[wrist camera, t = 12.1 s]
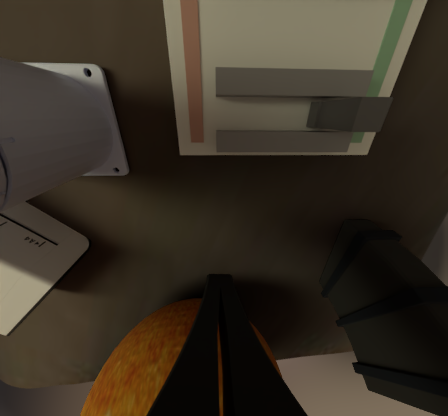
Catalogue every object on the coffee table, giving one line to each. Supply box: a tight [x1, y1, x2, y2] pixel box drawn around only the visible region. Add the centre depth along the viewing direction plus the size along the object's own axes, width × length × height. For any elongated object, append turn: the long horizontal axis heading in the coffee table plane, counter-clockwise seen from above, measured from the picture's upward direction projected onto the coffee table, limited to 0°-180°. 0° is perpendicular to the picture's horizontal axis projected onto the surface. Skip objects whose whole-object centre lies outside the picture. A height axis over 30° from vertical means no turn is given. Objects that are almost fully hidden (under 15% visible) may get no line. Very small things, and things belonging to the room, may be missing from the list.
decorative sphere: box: [80, 298, 282, 416], centre depth 18 cm, size 20×20×20 cm
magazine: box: [319, 220, 448, 416], centre depth 18 cm, size 4×13×15 cm, turn 179°
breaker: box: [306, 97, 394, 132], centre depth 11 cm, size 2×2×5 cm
